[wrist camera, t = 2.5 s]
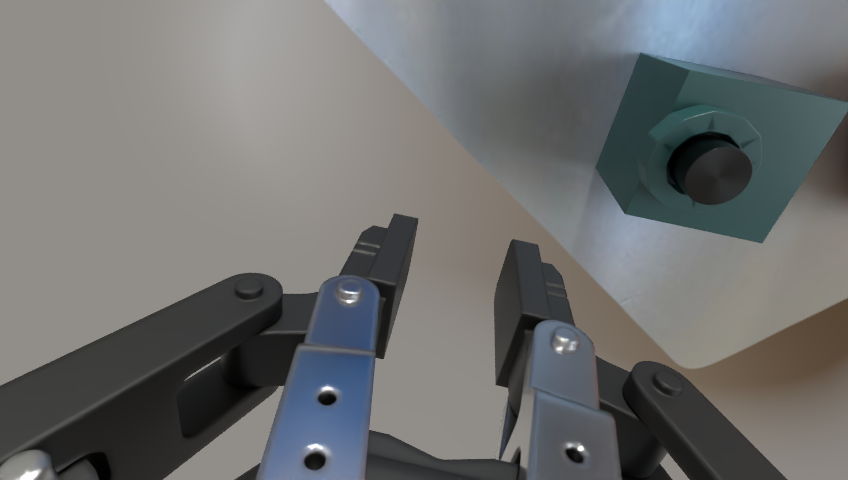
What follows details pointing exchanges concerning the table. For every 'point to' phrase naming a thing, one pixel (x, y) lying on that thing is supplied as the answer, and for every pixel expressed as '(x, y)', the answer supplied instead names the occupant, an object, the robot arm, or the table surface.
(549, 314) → the robot arm
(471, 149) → the table surface
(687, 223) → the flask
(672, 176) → the black knob
